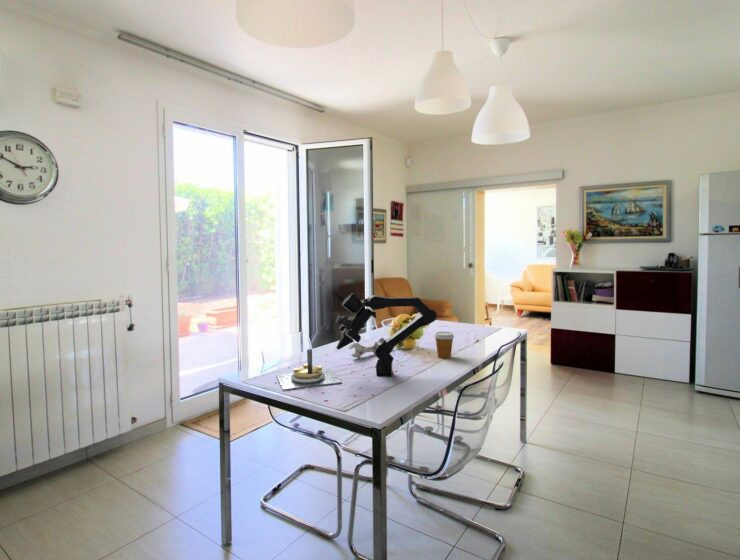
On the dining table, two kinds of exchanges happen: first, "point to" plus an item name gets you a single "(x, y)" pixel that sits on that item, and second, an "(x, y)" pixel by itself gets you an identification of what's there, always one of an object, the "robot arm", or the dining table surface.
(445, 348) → the disposable coffee cup
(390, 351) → the robot arm
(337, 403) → the dining table surface
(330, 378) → the gray metal base plate
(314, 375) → the brass chuck with rod
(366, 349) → the wrench
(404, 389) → the dining table surface
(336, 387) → the dining table surface
